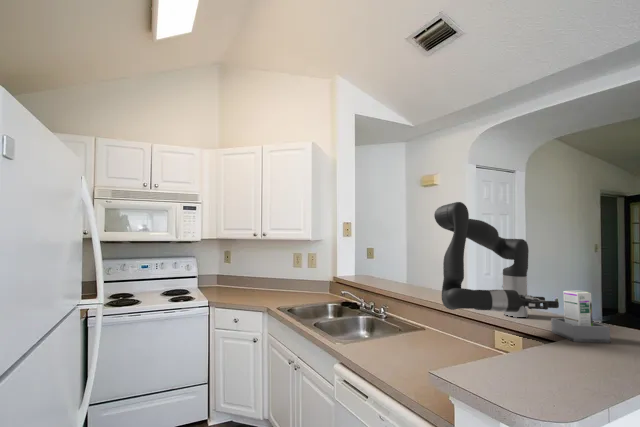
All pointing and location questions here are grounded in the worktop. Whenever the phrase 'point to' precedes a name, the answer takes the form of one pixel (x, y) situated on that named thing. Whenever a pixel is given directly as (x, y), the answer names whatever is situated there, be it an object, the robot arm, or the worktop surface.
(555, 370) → the worktop surface
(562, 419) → the worktop surface
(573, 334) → the tray
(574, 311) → the syrup box
